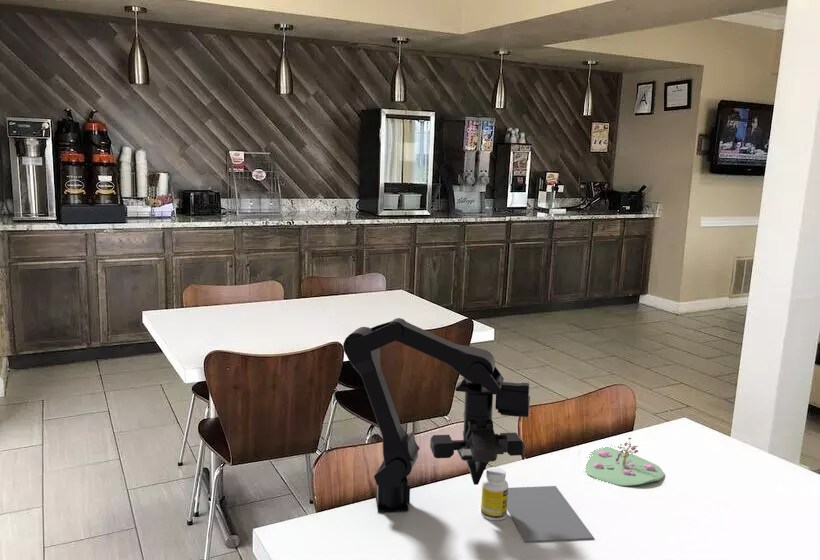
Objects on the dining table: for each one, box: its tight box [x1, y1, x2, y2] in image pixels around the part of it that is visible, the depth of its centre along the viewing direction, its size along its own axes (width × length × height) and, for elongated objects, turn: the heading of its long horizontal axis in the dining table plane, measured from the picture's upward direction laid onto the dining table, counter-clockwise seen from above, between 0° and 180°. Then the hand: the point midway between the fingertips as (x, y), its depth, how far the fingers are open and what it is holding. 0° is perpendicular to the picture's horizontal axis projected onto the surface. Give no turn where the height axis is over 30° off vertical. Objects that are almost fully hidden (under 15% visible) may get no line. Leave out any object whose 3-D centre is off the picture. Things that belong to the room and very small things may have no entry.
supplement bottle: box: [480, 466, 509, 521], centre depth 138 cm, size 5×5×10 cm
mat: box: [507, 485, 595, 543], centre depth 141 cm, size 14×22×1 cm, turn 7°
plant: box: [584, 437, 665, 487], centre depth 165 cm, size 25×21×9 cm
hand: (475, 483), depth 137 cm, fingers closed
